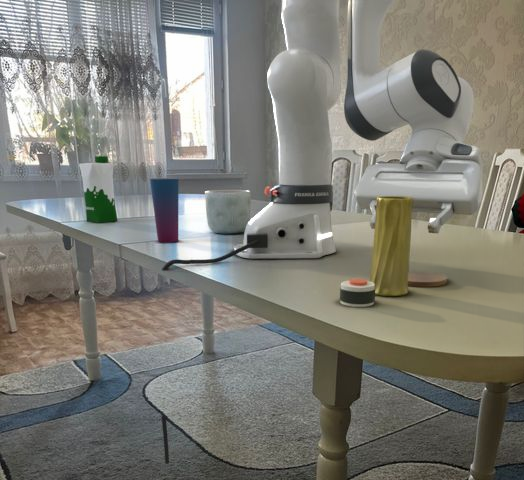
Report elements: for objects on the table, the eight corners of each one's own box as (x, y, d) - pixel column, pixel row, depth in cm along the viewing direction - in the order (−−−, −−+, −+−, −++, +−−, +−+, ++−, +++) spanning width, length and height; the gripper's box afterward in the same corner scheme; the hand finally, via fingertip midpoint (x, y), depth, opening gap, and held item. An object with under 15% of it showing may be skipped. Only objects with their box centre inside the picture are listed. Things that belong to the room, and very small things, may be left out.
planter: (219, 228, 158) (217, 189, 154) (258, 230, 153) (257, 190, 150) (198, 234, 147) (196, 192, 143) (239, 236, 143) (238, 193, 139)
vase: (363, 288, 87) (368, 196, 82) (400, 286, 88) (407, 195, 83) (374, 297, 81) (381, 199, 76) (414, 296, 82) (423, 198, 77)
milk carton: (121, 220, 178) (115, 156, 171) (97, 223, 171) (90, 156, 164) (105, 219, 183) (99, 156, 176) (82, 221, 176) (74, 156, 170)
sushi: (346, 308, 76) (347, 285, 75) (335, 299, 80) (335, 277, 79) (379, 306, 77) (381, 283, 76) (366, 297, 81) (368, 276, 80)
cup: (187, 240, 136) (184, 178, 131) (169, 244, 131) (165, 179, 126) (167, 238, 140) (163, 177, 135) (148, 242, 134) (143, 178, 129)
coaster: (405, 288, 87) (405, 283, 87) (383, 276, 95) (383, 272, 95) (456, 285, 88) (457, 280, 88) (430, 274, 97) (431, 269, 96)
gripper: (365, 148, 93) (337, 212, 89) (490, 147, 83) (466, 219, 78) (373, 175, 98) (347, 236, 94) (492, 177, 88) (470, 246, 83)
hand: (402, 228), depth 86 cm, fingers open, 8 cm apart
